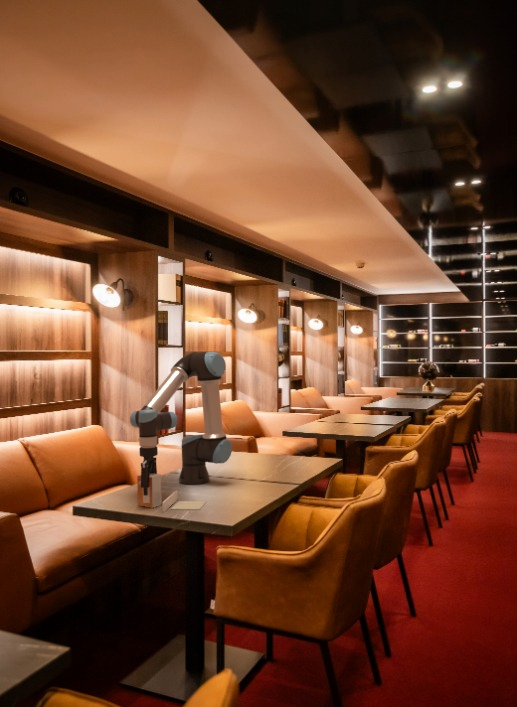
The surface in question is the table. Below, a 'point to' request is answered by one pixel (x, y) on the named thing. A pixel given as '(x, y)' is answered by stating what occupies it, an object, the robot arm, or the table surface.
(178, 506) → the mat
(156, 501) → the small box
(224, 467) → the table surface
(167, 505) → the fence
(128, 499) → the table surface
